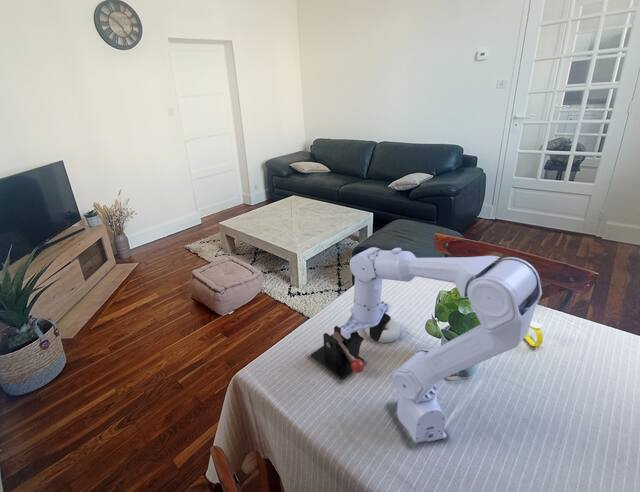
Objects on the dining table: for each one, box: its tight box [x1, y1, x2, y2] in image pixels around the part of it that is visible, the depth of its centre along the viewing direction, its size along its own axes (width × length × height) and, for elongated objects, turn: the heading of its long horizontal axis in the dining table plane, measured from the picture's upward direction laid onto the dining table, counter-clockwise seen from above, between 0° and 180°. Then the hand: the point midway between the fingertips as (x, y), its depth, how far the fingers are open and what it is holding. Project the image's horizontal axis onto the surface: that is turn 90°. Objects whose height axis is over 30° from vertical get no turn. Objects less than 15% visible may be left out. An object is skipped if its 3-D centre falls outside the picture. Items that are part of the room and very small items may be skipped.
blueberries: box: [444, 371, 460, 382], centre depth 83 cm, size 7×8×2 cm
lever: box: [330, 332, 365, 374], centre depth 85 cm, size 11×3×3 cm, turn 38°
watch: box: [524, 320, 544, 347], centre depth 89 cm, size 6×3×6 cm, turn 178°
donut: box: [364, 318, 402, 344], centre depth 98 cm, size 10×4×10 cm
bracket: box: [310, 325, 365, 381], centre depth 88 cm, size 11×9×9 cm
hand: (364, 346), depth 79 cm, fingers open, 7 cm apart
